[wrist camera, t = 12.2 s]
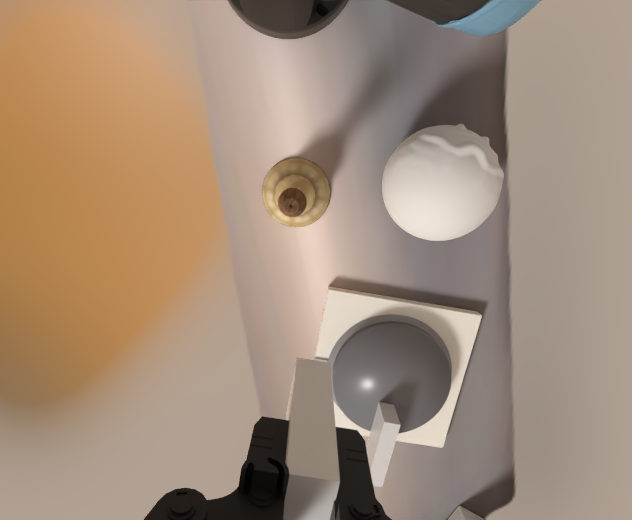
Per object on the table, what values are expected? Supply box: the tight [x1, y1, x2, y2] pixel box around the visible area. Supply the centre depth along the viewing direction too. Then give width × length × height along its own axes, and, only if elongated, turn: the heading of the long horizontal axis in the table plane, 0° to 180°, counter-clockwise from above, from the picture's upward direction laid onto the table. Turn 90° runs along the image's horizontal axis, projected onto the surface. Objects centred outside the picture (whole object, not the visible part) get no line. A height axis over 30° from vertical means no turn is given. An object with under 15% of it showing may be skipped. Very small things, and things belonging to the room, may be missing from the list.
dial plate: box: [314, 286, 482, 448], centre depth 52 cm, size 20×20×2 cm
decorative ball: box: [382, 124, 504, 241], centre depth 41 cm, size 12×12×12 cm
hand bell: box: [262, 158, 330, 227], centre depth 39 cm, size 8×8×16 cm
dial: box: [332, 321, 452, 487], centre depth 48 cm, size 20×15×6 cm
